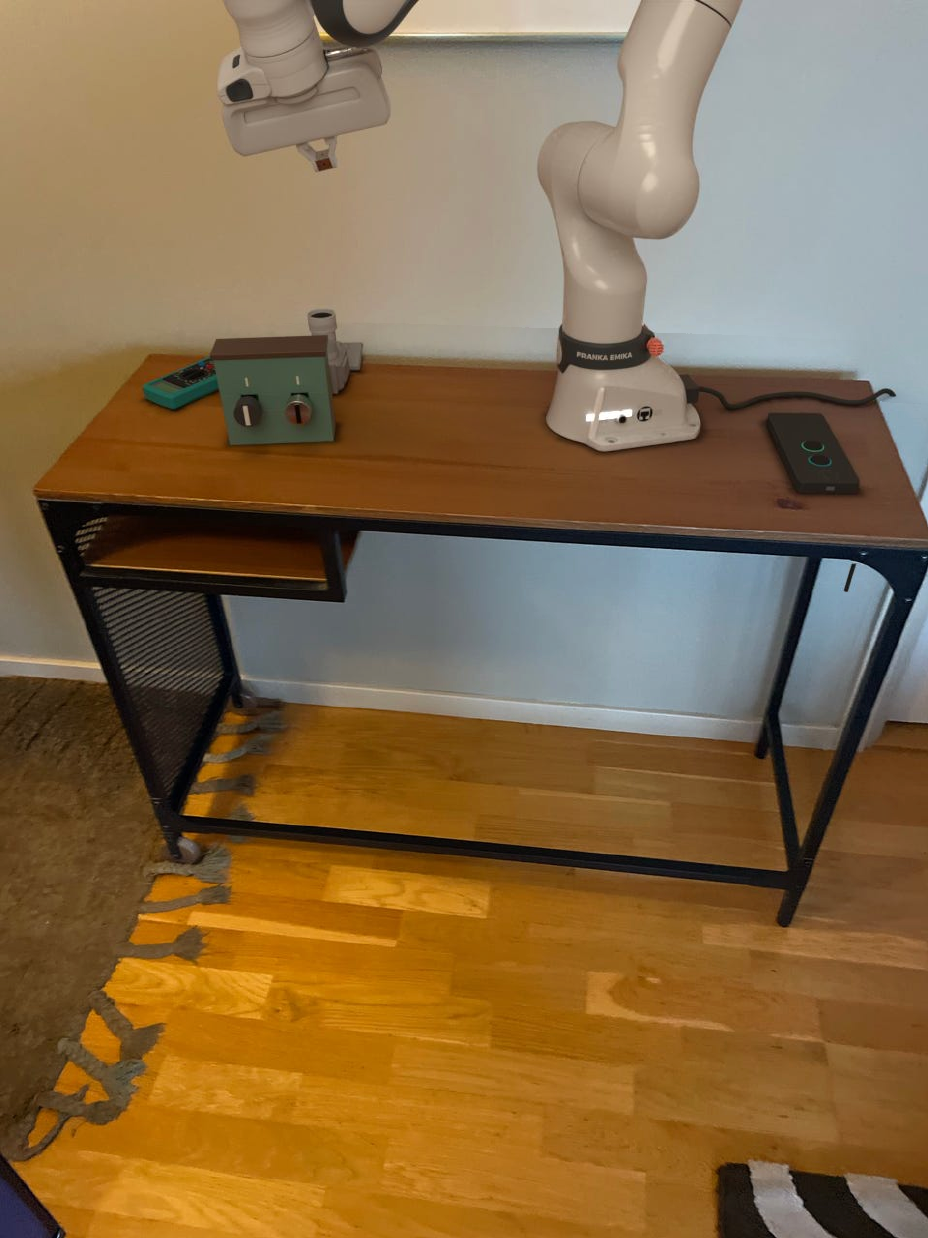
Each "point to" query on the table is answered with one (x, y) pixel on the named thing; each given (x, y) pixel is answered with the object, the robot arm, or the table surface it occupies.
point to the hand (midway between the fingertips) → (326, 167)
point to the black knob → (247, 411)
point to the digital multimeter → (183, 385)
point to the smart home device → (811, 454)
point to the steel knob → (298, 409)
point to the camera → (335, 347)
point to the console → (275, 386)
